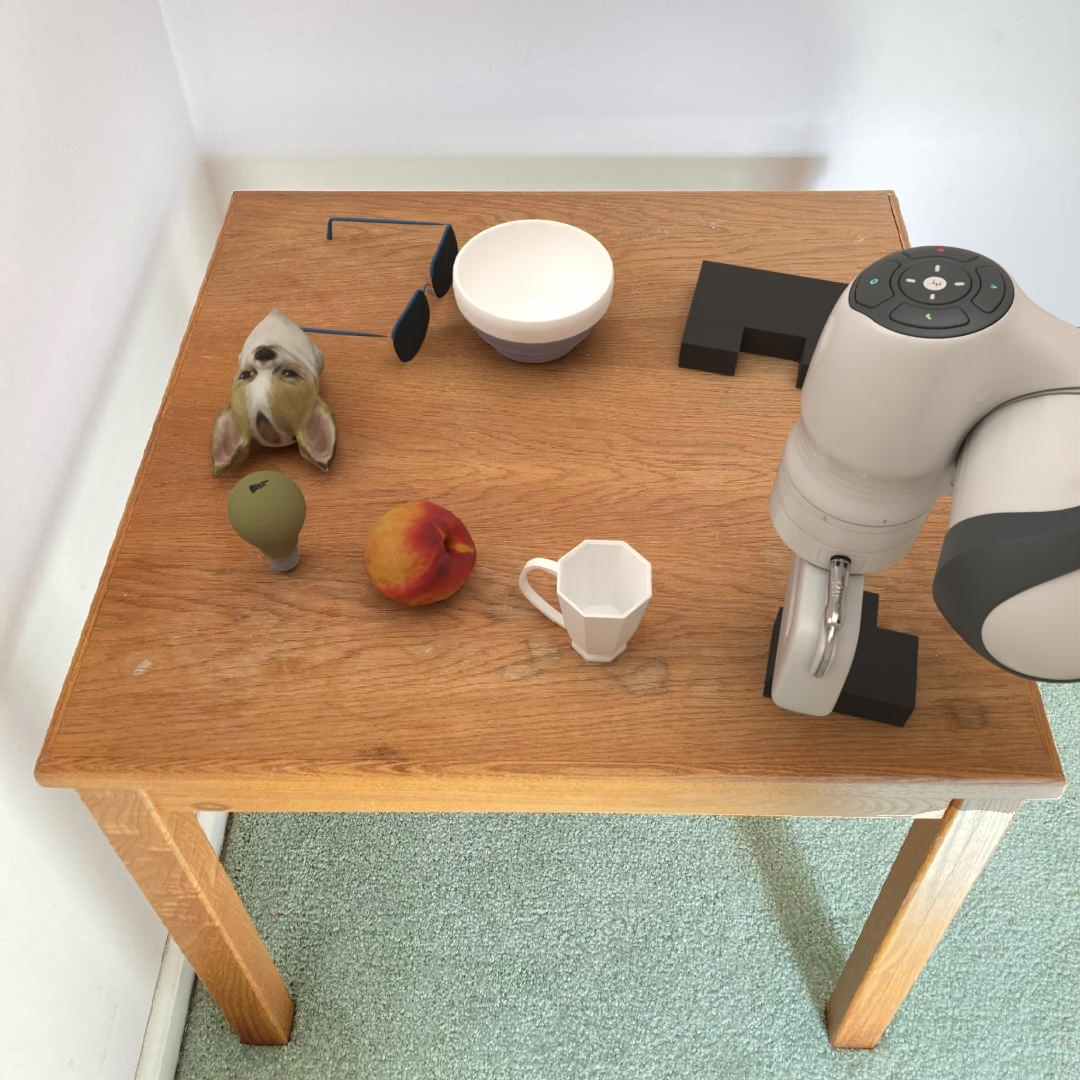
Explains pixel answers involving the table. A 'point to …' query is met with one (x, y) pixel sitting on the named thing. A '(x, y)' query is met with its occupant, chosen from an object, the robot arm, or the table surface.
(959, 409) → the robot arm
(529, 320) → the bowl
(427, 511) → the fruit
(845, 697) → the black stepped block
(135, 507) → the table surface
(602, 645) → the cup
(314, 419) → the ceramic sculpture
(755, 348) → the base pad
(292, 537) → the light bulb
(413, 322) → the sunglasses
